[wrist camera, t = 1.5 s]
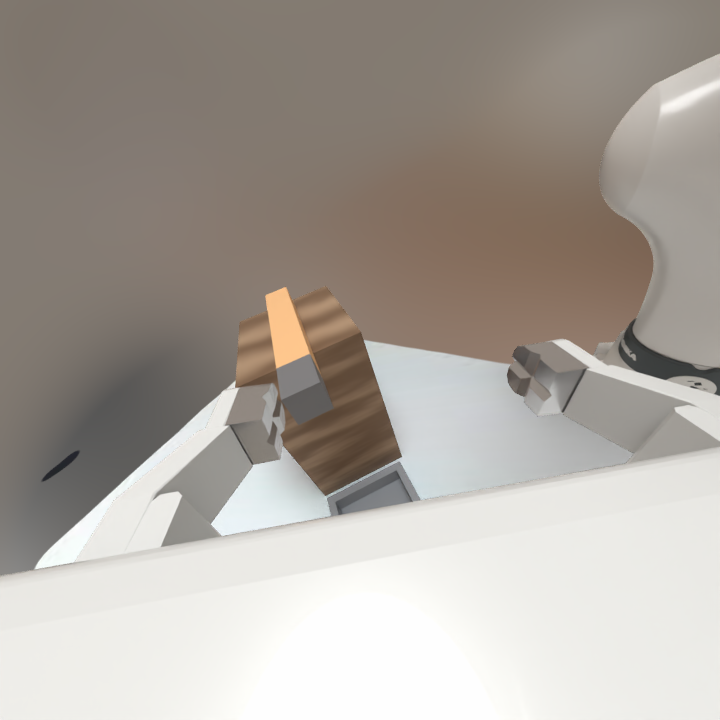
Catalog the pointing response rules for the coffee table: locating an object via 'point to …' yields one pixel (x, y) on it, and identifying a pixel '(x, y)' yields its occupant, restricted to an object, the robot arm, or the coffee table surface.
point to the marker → (295, 361)
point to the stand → (345, 388)
